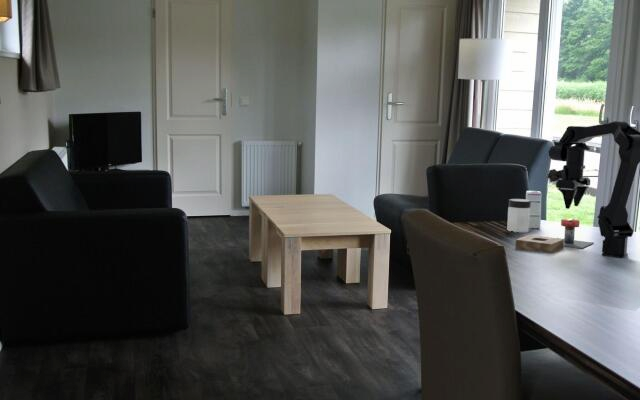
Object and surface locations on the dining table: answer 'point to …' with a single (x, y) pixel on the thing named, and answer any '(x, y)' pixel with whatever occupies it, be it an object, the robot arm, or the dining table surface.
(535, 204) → the syrup box
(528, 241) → the eye block
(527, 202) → the jar
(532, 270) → the dining table surface
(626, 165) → the robot arm
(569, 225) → the no entry disc
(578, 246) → the mat
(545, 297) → the dining table surface
